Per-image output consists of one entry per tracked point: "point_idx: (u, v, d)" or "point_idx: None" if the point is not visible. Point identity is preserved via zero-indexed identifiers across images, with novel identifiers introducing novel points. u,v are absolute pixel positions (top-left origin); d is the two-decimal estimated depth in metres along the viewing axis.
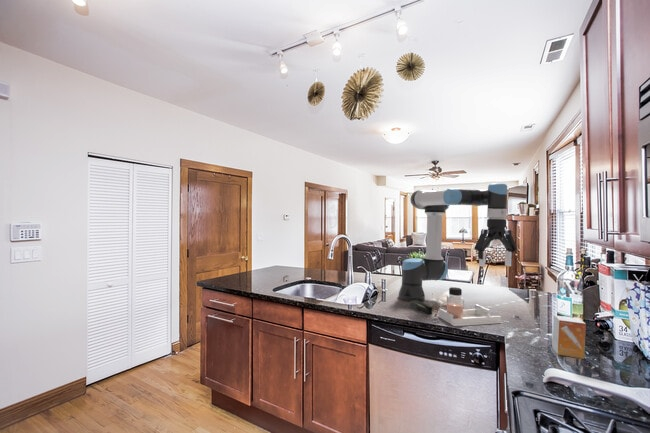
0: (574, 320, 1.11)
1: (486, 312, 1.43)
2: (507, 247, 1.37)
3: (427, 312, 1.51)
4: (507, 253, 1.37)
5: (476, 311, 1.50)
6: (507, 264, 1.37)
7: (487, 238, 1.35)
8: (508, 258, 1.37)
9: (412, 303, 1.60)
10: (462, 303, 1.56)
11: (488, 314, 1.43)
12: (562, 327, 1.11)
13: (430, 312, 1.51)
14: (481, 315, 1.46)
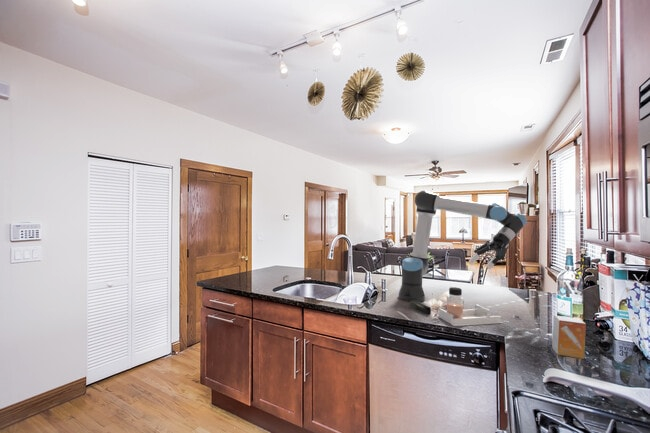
0: (574, 320, 1.11)
1: (486, 312, 1.43)
2: (481, 252, 1.69)
3: (426, 312, 1.51)
4: (476, 255, 1.70)
5: (476, 311, 1.50)
6: (471, 262, 1.69)
7: (498, 249, 1.60)
8: (475, 259, 1.69)
9: (411, 303, 1.60)
10: (462, 303, 1.56)
11: (488, 314, 1.43)
12: (562, 327, 1.11)
13: (429, 312, 1.51)
14: (481, 315, 1.46)
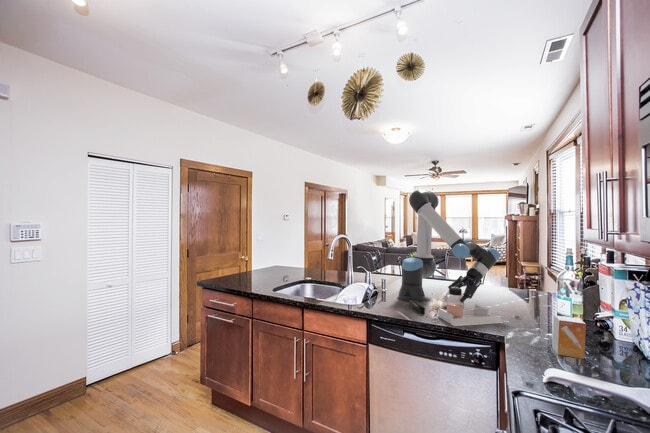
0: (574, 320, 1.11)
1: (486, 312, 1.43)
2: None
3: (419, 312, 1.51)
4: None
5: (476, 311, 1.50)
6: (445, 299, 1.64)
7: (469, 286, 1.58)
8: None
9: (410, 302, 1.61)
10: (462, 303, 1.56)
11: (488, 314, 1.43)
12: (562, 327, 1.11)
13: (422, 312, 1.51)
14: (481, 315, 1.46)
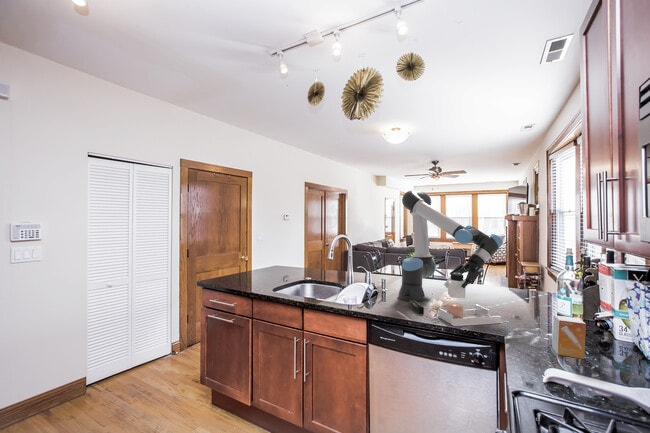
0: (574, 320, 1.11)
1: (486, 312, 1.43)
2: None
3: (418, 311, 1.51)
4: None
5: (476, 311, 1.50)
6: (446, 285, 1.64)
7: (471, 272, 1.57)
8: None
9: (410, 302, 1.62)
10: (464, 289, 1.56)
11: (488, 314, 1.43)
12: (562, 327, 1.11)
13: (421, 312, 1.51)
14: (481, 315, 1.46)
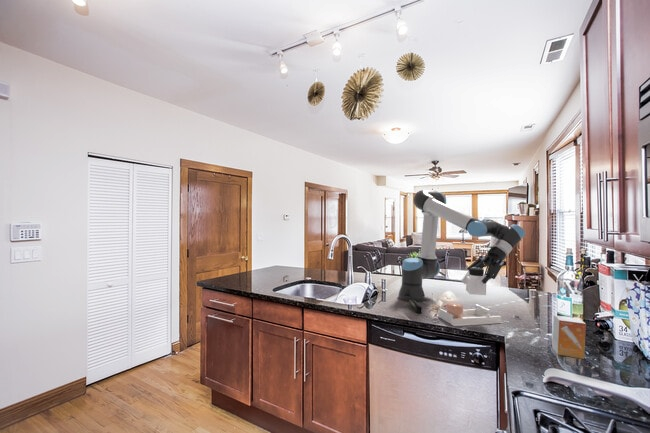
0: (574, 320, 1.11)
1: (486, 312, 1.43)
2: None
3: (416, 311, 1.52)
4: None
5: (476, 311, 1.50)
6: (464, 281, 1.49)
7: (492, 266, 1.43)
8: None
9: (409, 302, 1.62)
10: (484, 284, 1.41)
11: (488, 314, 1.43)
12: (562, 327, 1.11)
13: (419, 311, 1.51)
14: (481, 315, 1.46)
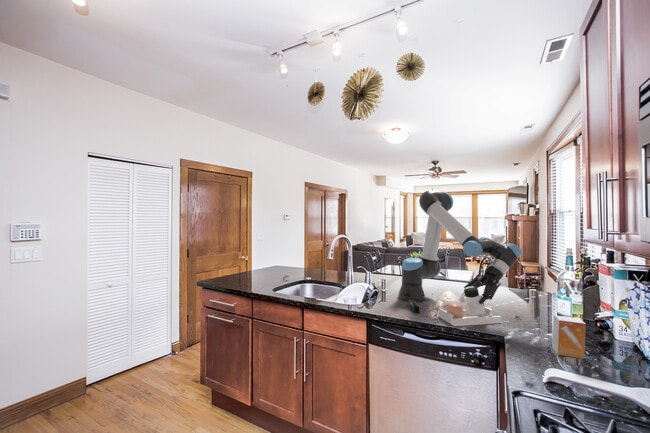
0: (574, 320, 1.11)
1: (489, 312, 1.43)
2: None
3: (414, 311, 1.52)
4: None
5: None
6: (461, 300, 1.49)
7: (489, 286, 1.43)
8: None
9: (409, 301, 1.62)
10: (482, 304, 1.41)
11: (491, 314, 1.43)
12: (562, 327, 1.11)
13: (416, 311, 1.51)
14: (484, 315, 1.47)
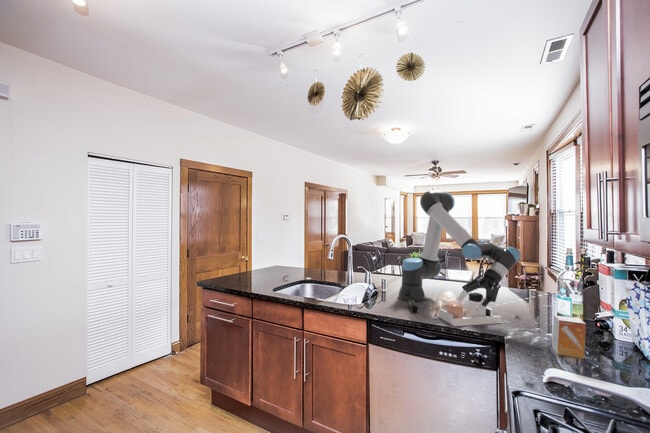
0: (574, 320, 1.11)
1: (489, 312, 1.43)
2: (470, 289, 1.52)
3: (412, 310, 1.53)
4: (465, 293, 1.52)
5: None
6: (459, 300, 1.51)
7: (489, 288, 1.42)
8: (463, 297, 1.52)
9: (408, 301, 1.63)
10: (484, 310, 1.42)
11: (491, 314, 1.43)
12: (562, 327, 1.11)
13: (414, 311, 1.52)
14: None
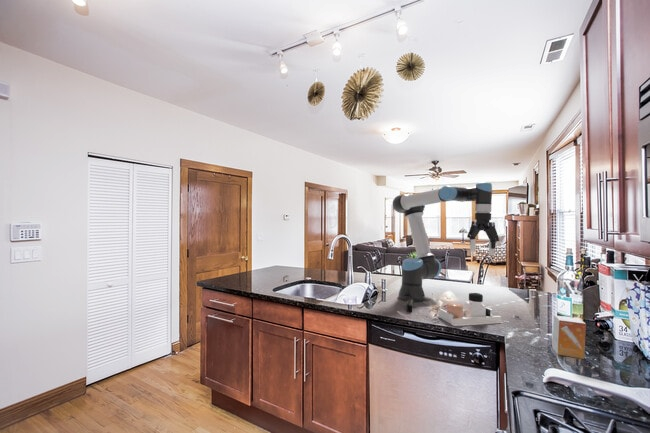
0: (574, 320, 1.11)
1: (489, 312, 1.43)
2: (474, 236, 1.64)
3: (407, 309, 1.54)
4: (473, 241, 1.65)
5: None
6: (473, 250, 1.65)
7: (487, 230, 1.54)
8: (474, 245, 1.65)
9: None
10: (484, 310, 1.42)
11: (491, 314, 1.43)
12: (562, 327, 1.11)
13: (409, 310, 1.53)
14: None
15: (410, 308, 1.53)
